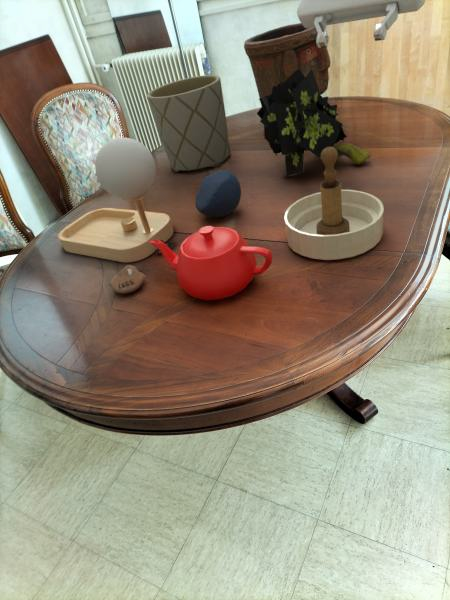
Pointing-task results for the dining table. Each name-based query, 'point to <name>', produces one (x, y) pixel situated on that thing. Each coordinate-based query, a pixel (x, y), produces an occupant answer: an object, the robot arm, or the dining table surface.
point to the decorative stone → (218, 194)
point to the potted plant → (303, 123)
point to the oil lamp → (127, 280)
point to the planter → (191, 122)
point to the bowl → (363, 234)
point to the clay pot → (286, 57)
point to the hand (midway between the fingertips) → (349, 42)
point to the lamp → (119, 222)
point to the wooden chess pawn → (331, 198)
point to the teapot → (214, 262)
